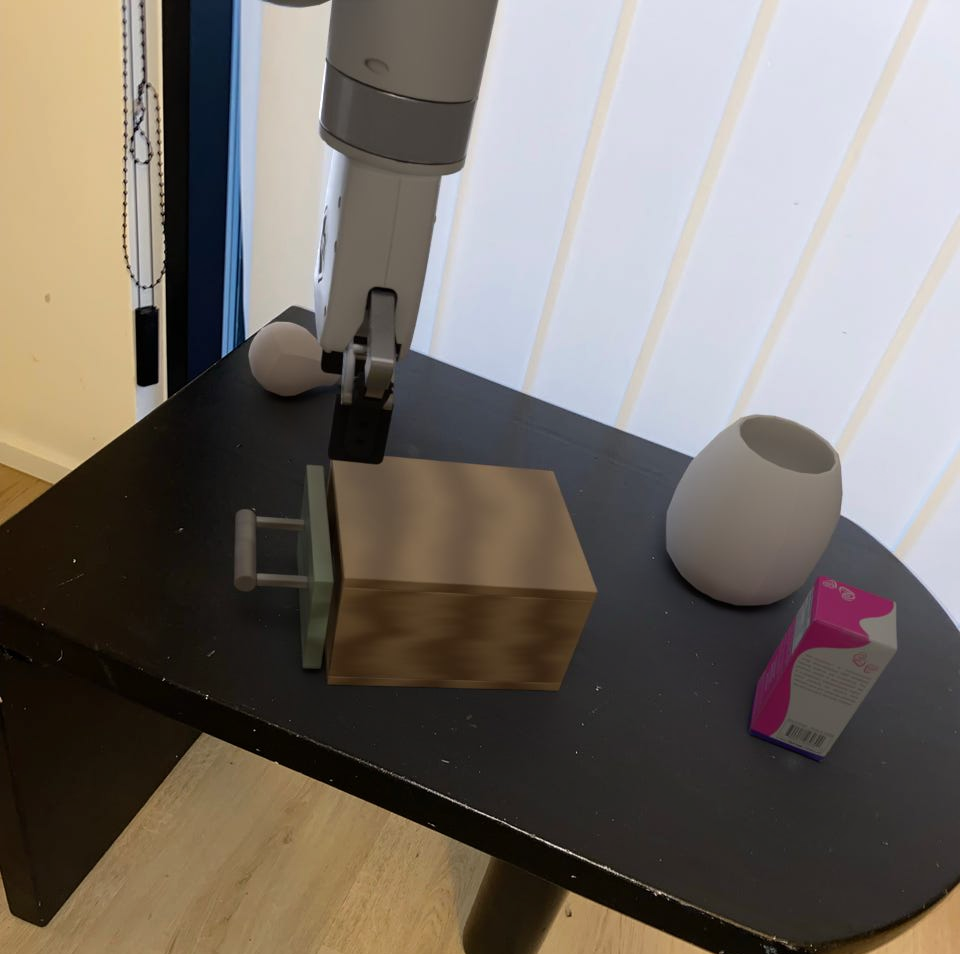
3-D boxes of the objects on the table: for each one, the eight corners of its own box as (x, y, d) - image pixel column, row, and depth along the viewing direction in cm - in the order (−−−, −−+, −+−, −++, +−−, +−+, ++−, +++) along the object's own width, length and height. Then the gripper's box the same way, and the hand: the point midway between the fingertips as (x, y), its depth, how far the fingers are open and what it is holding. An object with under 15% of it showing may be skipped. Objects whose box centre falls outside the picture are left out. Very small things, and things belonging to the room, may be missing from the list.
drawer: (230, 666, 64) (235, 576, 59) (232, 545, 73) (237, 458, 67) (523, 675, 69) (552, 594, 64) (493, 562, 78) (516, 482, 73)
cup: (773, 538, 91) (840, 413, 82) (812, 636, 82) (893, 506, 73) (639, 516, 89) (692, 385, 80) (663, 614, 79) (727, 478, 70)
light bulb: (359, 323, 94) (256, 298, 86) (384, 370, 91) (279, 348, 84) (329, 375, 98) (228, 355, 90) (352, 422, 95) (249, 405, 88)
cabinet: (327, 684, 66) (344, 577, 60) (317, 555, 75) (331, 450, 69) (558, 691, 70) (598, 592, 64) (522, 568, 80) (553, 470, 73)
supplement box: (826, 711, 75) (900, 601, 68) (821, 764, 71) (900, 653, 63) (754, 682, 76) (820, 570, 68) (745, 733, 71) (814, 620, 64)
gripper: (314, 50, 54) (285, 337, 65) (329, 165, 42) (289, 492, 53) (447, 79, 56) (396, 352, 67) (498, 196, 44) (425, 505, 55)
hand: (349, 414), depth 60 cm, fingers open, 9 cm apart
